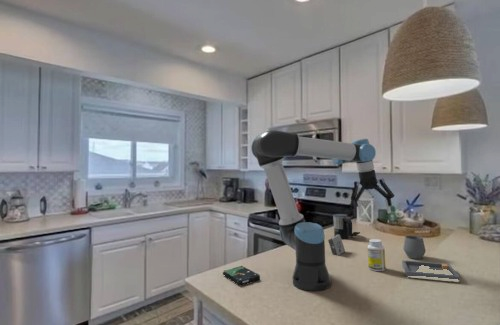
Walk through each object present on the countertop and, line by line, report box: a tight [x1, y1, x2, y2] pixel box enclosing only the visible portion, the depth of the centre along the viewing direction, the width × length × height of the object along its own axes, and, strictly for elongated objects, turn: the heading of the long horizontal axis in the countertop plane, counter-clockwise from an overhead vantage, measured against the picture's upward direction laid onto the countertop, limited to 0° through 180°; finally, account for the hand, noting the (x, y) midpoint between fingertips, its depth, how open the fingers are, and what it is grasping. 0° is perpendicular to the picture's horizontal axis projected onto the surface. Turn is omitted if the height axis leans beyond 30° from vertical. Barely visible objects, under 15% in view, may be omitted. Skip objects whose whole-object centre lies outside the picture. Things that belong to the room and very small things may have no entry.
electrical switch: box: [327, 235, 346, 256], centre depth 152 cm, size 9×5×9 cm, turn 141°
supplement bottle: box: [367, 238, 386, 272], centre depth 126 cm, size 7×7×13 cm
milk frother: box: [332, 213, 361, 240], centre depth 185 cm, size 14×16×15 cm
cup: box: [403, 235, 426, 260], centre depth 139 cm, size 10×9×10 cm
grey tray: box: [401, 260, 461, 281], centre depth 118 cm, size 18×15×2 cm
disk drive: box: [222, 265, 261, 286], centre depth 122 cm, size 10×3×15 cm
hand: (374, 212), depth 137 cm, fingers open, 13 cm apart
